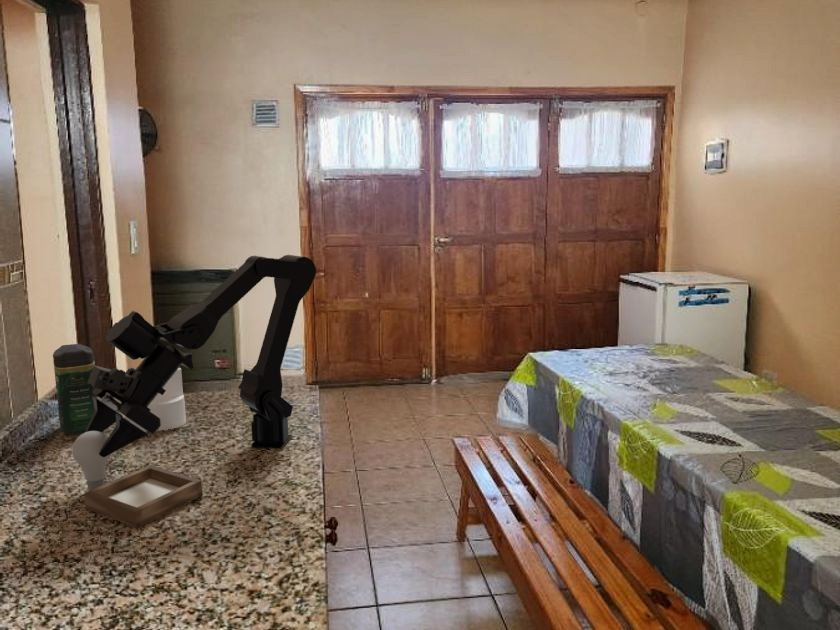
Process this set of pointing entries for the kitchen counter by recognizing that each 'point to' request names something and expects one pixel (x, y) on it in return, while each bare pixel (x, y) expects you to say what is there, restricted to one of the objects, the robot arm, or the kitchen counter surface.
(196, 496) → the walnut tray
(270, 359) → the robot arm
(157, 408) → the cylinder with rectangular tab
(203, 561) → the kitchen counter surface
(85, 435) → the lightbulb
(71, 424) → the coffee jar
